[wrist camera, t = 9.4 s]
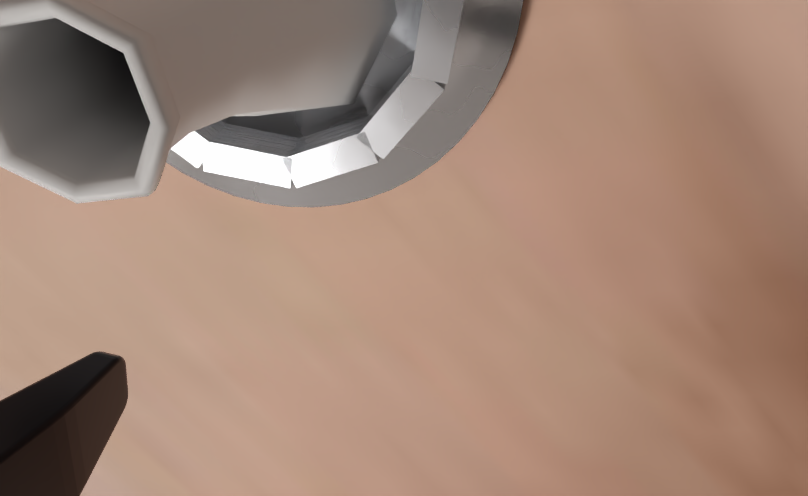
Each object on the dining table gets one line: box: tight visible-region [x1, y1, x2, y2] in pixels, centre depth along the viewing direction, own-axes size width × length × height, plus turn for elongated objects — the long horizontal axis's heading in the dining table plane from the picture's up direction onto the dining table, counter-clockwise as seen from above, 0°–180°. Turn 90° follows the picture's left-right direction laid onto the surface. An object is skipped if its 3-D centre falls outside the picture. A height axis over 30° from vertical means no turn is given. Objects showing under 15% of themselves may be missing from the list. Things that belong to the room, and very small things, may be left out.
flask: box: [0, 0, 397, 203], centre depth 13 cm, size 7×7×10 cm
